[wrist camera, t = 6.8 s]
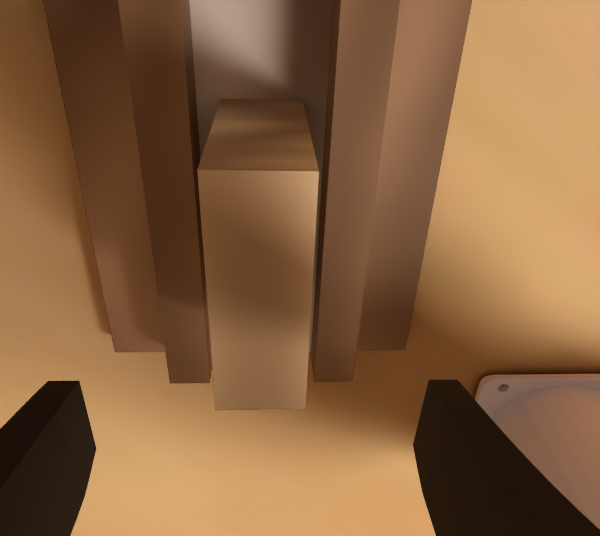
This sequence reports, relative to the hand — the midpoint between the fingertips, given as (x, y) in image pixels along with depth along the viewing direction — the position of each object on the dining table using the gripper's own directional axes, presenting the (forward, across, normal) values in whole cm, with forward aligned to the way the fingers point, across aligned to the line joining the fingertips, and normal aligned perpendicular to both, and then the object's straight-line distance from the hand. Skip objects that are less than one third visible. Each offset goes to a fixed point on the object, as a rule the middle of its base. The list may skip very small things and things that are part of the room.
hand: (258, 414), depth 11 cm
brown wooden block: (+8, 0, -1) cm, 8 cm away
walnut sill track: (+9, 0, -1) cm, 9 cm away
